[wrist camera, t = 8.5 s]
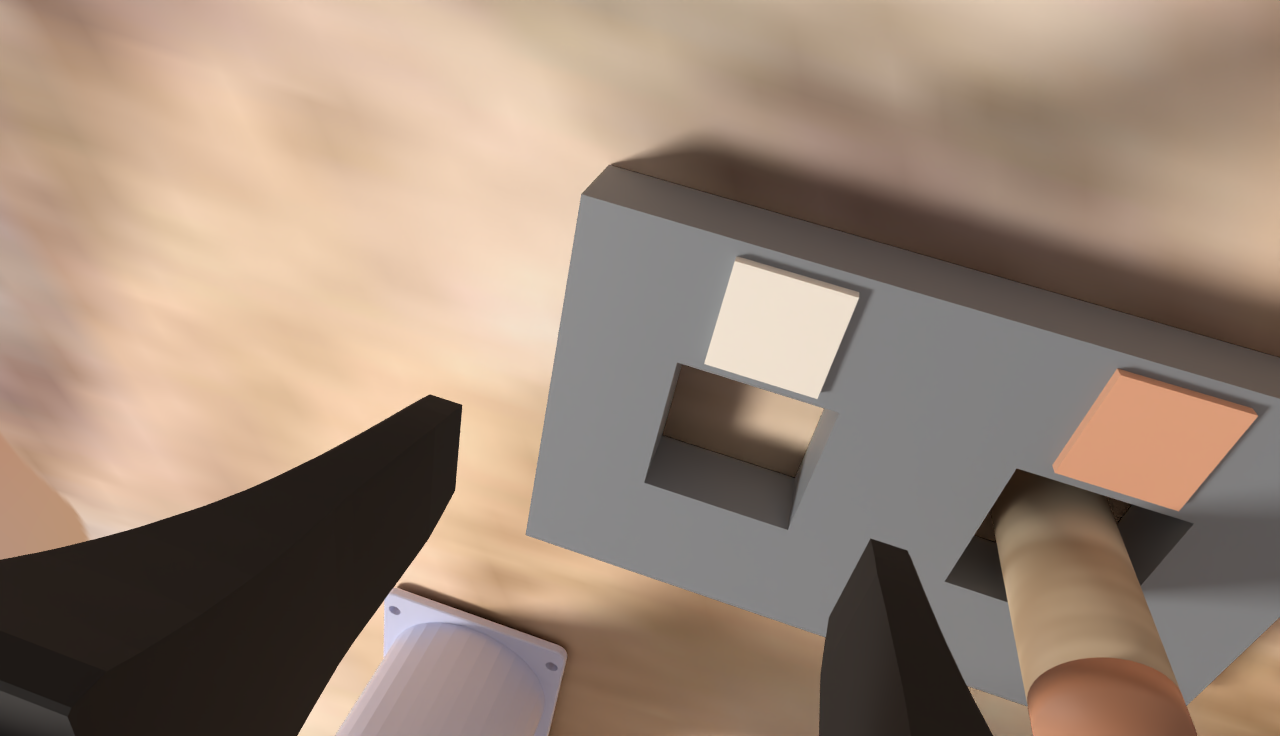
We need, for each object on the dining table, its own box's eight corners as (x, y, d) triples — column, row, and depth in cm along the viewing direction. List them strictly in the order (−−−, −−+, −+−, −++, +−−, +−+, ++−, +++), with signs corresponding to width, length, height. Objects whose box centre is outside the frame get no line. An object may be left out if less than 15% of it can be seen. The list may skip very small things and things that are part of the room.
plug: (1070, 547, 23) (1145, 798, 17) (970, 515, 24) (1008, 751, 17) (1123, 474, 22) (1230, 723, 15) (1016, 441, 22) (1076, 671, 15)
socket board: (1122, 679, 25) (1147, 755, 23) (550, 487, 27) (522, 541, 25) (1393, 390, 19) (1464, 458, 16) (609, 164, 21) (577, 198, 18)
